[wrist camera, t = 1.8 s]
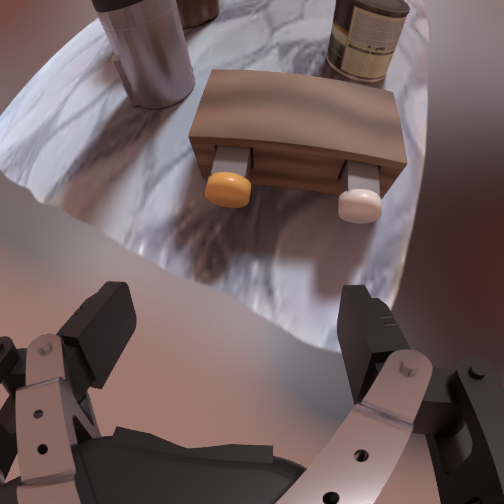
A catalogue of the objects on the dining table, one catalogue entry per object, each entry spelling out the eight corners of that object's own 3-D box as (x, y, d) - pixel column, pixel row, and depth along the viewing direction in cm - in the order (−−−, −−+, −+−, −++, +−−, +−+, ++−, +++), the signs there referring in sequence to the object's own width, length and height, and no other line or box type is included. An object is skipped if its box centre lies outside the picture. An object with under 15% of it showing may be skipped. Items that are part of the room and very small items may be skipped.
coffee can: (313, 59, 39) (322, -15, 25) (348, 42, 41) (361, -21, 27) (366, 91, 36) (390, 16, 23) (396, 71, 38) (420, 7, 25)
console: (379, 201, 31) (407, 163, 23) (203, 180, 33) (188, 136, 25) (373, 134, 34) (393, 92, 26) (220, 115, 35) (212, 69, 28)
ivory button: (372, 225, 27) (387, 208, 23) (333, 220, 27) (344, 201, 24) (370, 169, 29) (382, 148, 25) (334, 163, 29) (343, 140, 25)
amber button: (249, 209, 28) (247, 189, 24) (208, 205, 28) (200, 185, 24) (258, 154, 30) (257, 130, 26) (220, 151, 30) (215, 127, 26)
